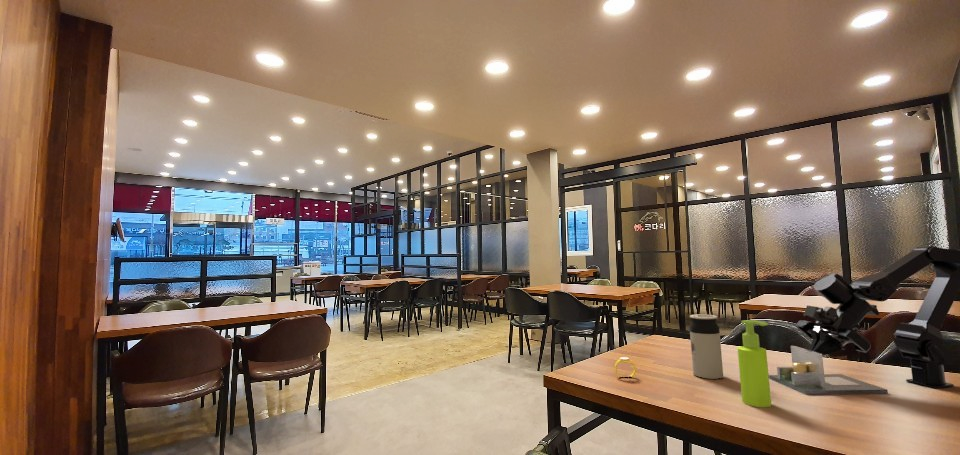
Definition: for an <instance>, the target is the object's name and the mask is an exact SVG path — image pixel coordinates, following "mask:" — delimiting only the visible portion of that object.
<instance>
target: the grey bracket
mask: <svg viewBox="0 0 960 455" xmlns="http://www.w3.org/2000/svg"><path fill="white" fill-rule="evenodd" d="M790 352H791V353H790V354H791V362H792V365H793V362H801V363H805V364H806V365H807V372H793V366H776V371H777V372H776V373H777V374H776V375H778V378H779V379H792V384H794V385H818V386H821V387H826V386H825V377H824V374H825V369H824V359H823V356H822V354H821V353H817V352H814V351H811V350H810V349H807V348H803V347H799V346H795V345H790Z"/></svg>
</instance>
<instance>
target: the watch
mask: <svg viewBox="0 0 960 455" xmlns="http://www.w3.org/2000/svg"><path fill="white" fill-rule="evenodd" d="M621 362H630V363H631V364H632V366H633V372H632V373H631V374H630V375H629V376H631V377H632V378H633V377H635V376H636V373H637V368H636V365H635V364H634V362H633V361H632V360H631V359H630V358H629V357H627V356H626V357H625V356H623V357H622V356H621V357H619V359H618V360H616V361H615V364H614V371H615V373H616V375H617V376H618V377H619V376H621V374H619V372H618V370H617V368H618V364H620V363H621Z"/></svg>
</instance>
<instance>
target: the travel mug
mask: <svg viewBox="0 0 960 455" xmlns="http://www.w3.org/2000/svg"><path fill="white" fill-rule="evenodd" d="M689 318H690V320H691V322H690V325H689V335H690V336H689V337H690V348H691V350H690V351H691V361H692V362H691V363H692V374H693V375H694V376H696V377H697V376H698V377H697V378H700V377H702V378H701V379H705V378H708V379H707V380H719V378H720V379H722V378H724V368H723V357H722V356H723V355H722V346H721V333H720V326H719V325H718V323H717V320H718V316H717V315H715V314H704V313H703V314H701V313H700V314H697V313H696V314H695V313H694V314H691V315H689Z"/></svg>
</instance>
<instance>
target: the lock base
mask: <svg viewBox="0 0 960 455" xmlns="http://www.w3.org/2000/svg"><path fill="white" fill-rule="evenodd" d="M792 367H793V372H807V365H806V364H805V363H801V362H793V364H792ZM768 375H769V380H771V379H772V381H774V382H777V383H779V384H781V385H783V386H785V387H788V388H790V389H792V390H795V391H797V392H799V393H802V394H804V395H811V396H812V395H813V396H815V395H871V394H872V395H876V394H878V395H882V394H883V395H884V394H886V395H888V393H889V392H888V391H889V390H888V389H886V388H883V387H881V386H878V385H875V384H871V383H868V382H866V381H863V380H860V379H856V378H853V377H851V376H848V375H844V374H841V373H829V374H827V373H826V374H825V373H824V377H825V386H826V387H821V386H818V385H794V384H792V379H779V378H778V375H777V374H768Z"/></svg>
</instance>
